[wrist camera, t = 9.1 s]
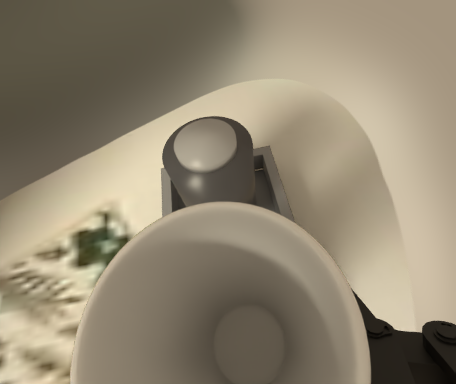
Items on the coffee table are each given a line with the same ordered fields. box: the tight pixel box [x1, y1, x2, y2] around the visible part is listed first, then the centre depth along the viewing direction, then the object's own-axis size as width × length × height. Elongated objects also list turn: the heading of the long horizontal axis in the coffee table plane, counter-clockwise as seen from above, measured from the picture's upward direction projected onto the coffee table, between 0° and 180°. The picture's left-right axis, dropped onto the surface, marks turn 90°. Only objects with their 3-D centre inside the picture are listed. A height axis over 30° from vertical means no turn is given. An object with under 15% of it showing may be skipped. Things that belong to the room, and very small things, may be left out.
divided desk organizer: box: [161, 116, 295, 223], centre depth 20 cm, size 13×24×13 cm, turn 10°
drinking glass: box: [70, 202, 371, 384], centre depth 12 cm, size 7×7×15 cm
